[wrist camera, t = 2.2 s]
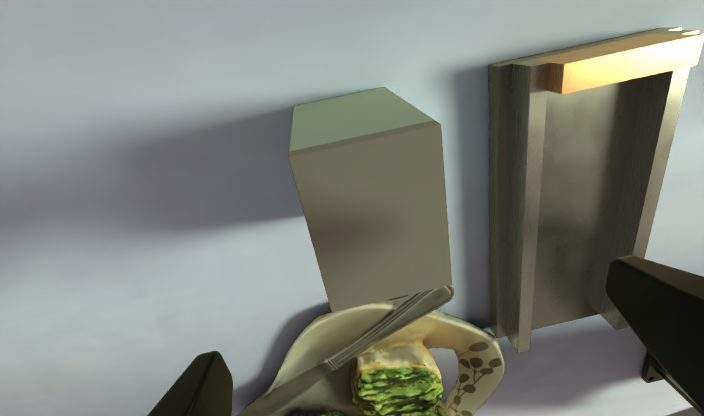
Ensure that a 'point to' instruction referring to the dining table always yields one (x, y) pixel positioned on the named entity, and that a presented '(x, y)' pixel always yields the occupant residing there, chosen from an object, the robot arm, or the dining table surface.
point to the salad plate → (384, 363)
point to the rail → (577, 172)
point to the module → (372, 196)
